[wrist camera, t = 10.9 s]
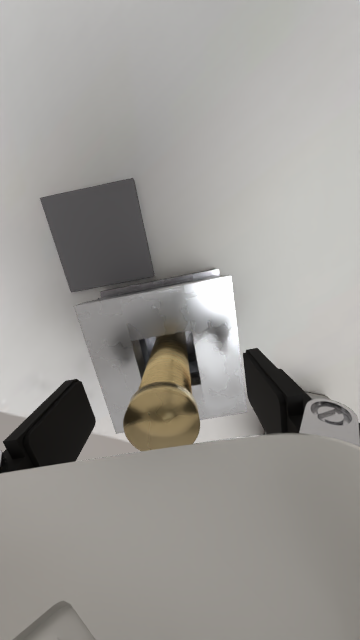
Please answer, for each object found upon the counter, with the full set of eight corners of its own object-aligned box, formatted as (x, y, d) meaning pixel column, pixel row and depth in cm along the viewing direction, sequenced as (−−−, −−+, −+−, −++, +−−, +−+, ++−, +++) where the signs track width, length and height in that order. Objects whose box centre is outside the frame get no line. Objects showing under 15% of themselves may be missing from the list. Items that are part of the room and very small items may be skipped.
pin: (152, 324, 20) (114, 399, 8) (184, 318, 19) (192, 386, 8) (159, 353, 20) (133, 461, 9) (189, 348, 20) (205, 450, 9)
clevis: (105, 290, 20) (64, 300, 13) (215, 269, 20) (237, 267, 12) (133, 386, 23) (112, 439, 16) (229, 370, 23) (253, 416, 15)
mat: (42, 199, 18) (40, 198, 18) (133, 180, 18) (132, 178, 17) (73, 291, 20) (71, 292, 20) (154, 276, 20) (154, 276, 19)
